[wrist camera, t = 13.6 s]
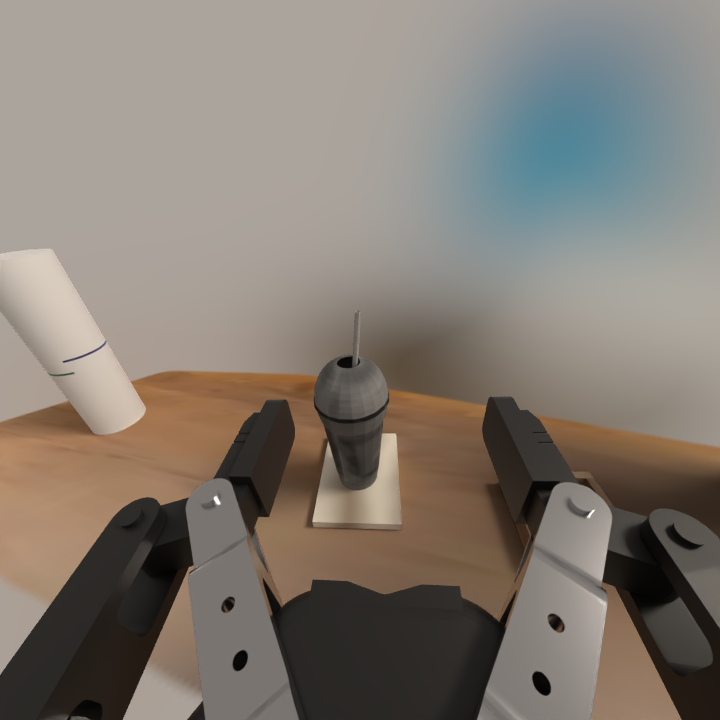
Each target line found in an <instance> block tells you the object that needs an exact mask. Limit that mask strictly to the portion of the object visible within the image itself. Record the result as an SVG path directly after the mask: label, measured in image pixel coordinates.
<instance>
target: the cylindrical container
mask: <svg viewBox="0 0 720 720" xmlns="http://www.w3.org/2000/svg"><path fill="white" fill-rule="evenodd" d="M0 311H1V313H2V314H3V315H4V316H5V318H6V319H7V320H8V322H9V323H10V324H11V325H12V327H13V328H14V330H15V331H16V332H17V333H18V335H19V336H20V338H21V339H22V340H23V341H24V343H25V344H26V345H27V347H28V348H29V349H30V351H31V352H32V353H33V355H34V356H35V357H36V358H37V360H38V361H39V362H40V364H41V365H42V366H43V368H44V369H45V370H46V371H47V373H48V374H49V375H50V377H51V378H52V379H53V381H54V382H55V383H56V385H57V386H58V387H59V389H60V390H61V391H62V392H63V394H64V395H65V396H66V398H67V399H68V400H69V402H70V403H71V404H72V406H73V407H74V408H75V409H76V411H77V412H78V413H79V415H80V416H81V417H82V419H83V420H84V421H85V422H86V424H87V425H88V426H89V428H90V429H91V430H92V432H93V433H94V434H97V435H108V434H113V433H116V432H119V431H122V430H124V429H126V428H128V427H130V426H131V425H133V424H134V423H136V422H137V421H138V420H140V419H141V418H142V416H143V415H144V414H145V411H146V408H145V406H144V404H143V402H142V401H141V399H140V397H139V396H138V394H137V392H136V391H135V389H134V387H133V385H132V384H131V382H130V380H129V379H128V377H127V375H126V374H125V372H124V370H123V369H122V367H121V365H120V364H119V362H118V360H117V358H116V357H115V355H114V353H113V352H112V350H111V348H110V347H109V345H108V343H107V342H106V340H105V338H104V337H103V335H102V333H101V331H100V330H99V328H98V327H97V325H96V323H95V321H94V320H93V318H92V316H91V314H90V313H89V311H88V309H87V308H86V307H85V305H84V303H83V301H82V299H81V298H80V296H79V294H78V293H77V291H76V289H75V287H74V286H73V284H72V282H71V281H70V279H69V277H68V276H67V274H66V272H65V271H64V269H63V267H62V265H61V264H60V262H59V260H58V259H57V257H56V255H55V254H54V252H53V250H52V249H33V250H23V251H15V252H8V253H1V254H0Z"/></svg>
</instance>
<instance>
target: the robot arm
mask: <svg viewBox="0 0 720 720" xmlns="http://www.w3.org/2000/svg"><path fill="white" fill-rule="evenodd" d="M482 431H483V438H484V442H485V445H486V447H487V450H488V453H489V455H490V458H491V461H492V463H493V466H494V469H495V471H496V474H497V477H498V479H499V482H500V485H501V488H502V490H503V493H504V496H505V498H506V501H507V504H508V506H509V509H510V512H511V514H512V517H513V520H514V523H515V524H527V525H528V528H529V530H530V533H531V535H530V537H529V540H528V543H527V545H526V548H525V551H524V554H523V556H522V559H521V562H520V565H519V567H518V570H517V573H516V576H515V578H514V581H513V584H512V587H511V589H510V592H509V594H508V597H507V599H506V601H505V604H504V606H503V609H502V611H501V614H500V616H499V619H498V620H497V619H495V618H494V617H493V616H492V615H491V614H489V613H488V612H487V611H485V610H484V609H482V608H481V607H479V606H478V605H476V604H474V603H472V602H470V601H468V600H466V599H463V598H462V597H461V592H460V586H441V585H419V586H415V587H412V588H408V589H405V590H401V591H397V592H394V593H390V594H380V593H377V592H375V591H372V590H369V589H367V588H364V587H361V586H359V585H356V584H353V583H351V582H348V581H331V580H313V581H312V587H311V591H308V592H305V593H303V594H301V595H298V596H296V597H295V598H293V599H292V600H290V601H288V602H287V603H286V604H285V605H283V603H282V600H281V598H280V595H279V593H278V590H277V588H276V586H275V583H274V581H273V578H272V576H271V573H270V570H269V567H268V564H267V561H266V558H265V556H264V553H263V550H262V547H261V544H260V541H259V538H258V535H257V532H256V529H255V525H256V522H257V519H258V517H269V515H270V512H271V509H272V506H273V503H274V500H275V497H276V494H277V491H278V488H279V485H280V482H281V478H282V475H283V472H284V469H285V466H286V463H287V460H288V457H289V454H290V451H291V448H292V445H293V442H294V437H295V427H294V423H293V419H292V416H291V412H290V409H289V405H288V402H287V400H267V401H266V402H265V404H264V406H263V408H262V410H261V412H260V413H253V414H252V415H251V416H250V417H249V418H248V419H247V420H246V421H245V422H244V424H243V426H242V427H241V429H240V431H239V435H237V437H236V438H235V440H234V444H232V446H231V448H230V449H229V451H228V453H227V455H226V457H225V459H224V460H223V462H222V464H221V466H220V468H219V470H218V471H217V473H216V475H215V477H214V478H213V479H212V480H209V481H207V482H205V483H203V484H202V485H200V486H199V487H198V488H197V489H196V490H195V491H194V492H193V493H192V494H191V496H190V497H189V498H186V499H182V500H179V501H175V502H172V503H168V504H165V505H160V504H159V503H158V501H157V500H156V499H154V498H148V497H147V498H141V499H138V500H135V501H133V502H131V503H130V504H128V505H126V506H125V507H124V508H122V509H121V510H120V511H119V512H118V513H117V514H116V515H115V516H114V517H113V518H112V520H111V521H110V522H109V524H108V525H107V526H106V528H105V529H104V531H103V532H102V533H101V535H100V536H99V538H98V539H97V540H96V542H95V543H94V545H93V546H92V547H91V549H90V550H89V552H88V553H87V554H86V556H85V557H84V559H83V560H82V561H81V563H80V564H79V566H78V567H77V568H76V570H75V571H74V573H73V574H72V575H71V577H70V578H69V580H68V581H67V582H66V584H65V585H64V587H63V588H62V589H61V591H60V592H59V594H58V595H57V596H56V598H55V599H54V601H53V602H52V603H51V605H50V606H49V608H48V609H47V610H46V612H45V613H44V615H43V616H42V617H41V619H40V620H39V622H38V623H37V624H36V626H35V627H34V629H33V630H32V631H31V633H30V634H29V635H28V637H27V638H26V640H25V641H24V643H23V644H22V645H21V647H20V648H19V650H18V651H17V652H16V654H15V655H14V656H13V658H12V659H11V661H10V662H9V663H8V665H7V666H6V668H5V669H4V670H3V672H2V673H1V675H0V720H123V717H124V715H125V713H126V710H127V708H128V706H129V704H130V701H131V699H132V697H133V694H134V692H135V690H136V688H137V685H138V683H139V681H140V678H141V676H142V674H143V671H144V669H145V667H146V665H147V662H148V660H149V658H150V655H151V653H152V651H153V648H154V646H155V644H156V642H157V639H158V637H159V635H160V632H161V630H162V628H163V625H164V623H165V621H166V619H167V616H168V614H169V612H170V609H171V607H172V605H173V602H174V600H175V598H176V596H177V593H178V591H179V589H180V586H181V584H182V582H183V579H184V577H185V575H186V573H187V570H188V568H189V567H190V566H193V565H194V569H193V570H192V571H191V572H190V573H189V576H188V585H189V593H190V601H191V609H192V617H193V625H194V633H195V641H196V649H197V657H198V665H199V673H200V681H201V689H202V697H203V701H202V702H201V704H200V705H199V706H198V707H197V708H196V710H195V711H194V712H193V713H192V715H191V716H190V717H189V718H188V719H187V720H591V715H592V708H593V701H594V694H595V687H596V680H597V673H598V666H599V659H600V652H601V645H602V638H603V631H604V624H605V617H606V610H607V601H608V597H607V592H606V590H604V589H603V588H602V582H604V583H607V584H610V585H612V586H615V587H616V589H617V591H618V593H619V595H620V597H621V599H622V601H623V603H624V605H625V607H626V609H627V611H628V613H629V615H630V617H631V619H632V621H633V623H634V625H635V627H636V629H637V631H638V633H639V635H640V637H641V639H642V641H643V643H644V645H645V647H646V649H647V651H648V653H649V655H650V657H651V659H652V661H653V663H654V665H655V667H656V669H657V671H658V673H659V675H660V677H661V679H662V681H663V683H664V685H665V687H666V689H667V691H668V693H669V695H670V697H671V699H672V701H673V703H674V705H675V707H676V709H677V711H678V713H679V715H680V717H681V719H682V720H720V539H719V538H718V537H717V536H716V535H715V534H714V533H713V532H712V531H711V530H710V529H709V528H708V527H706V526H705V525H704V524H702V523H701V522H699V521H698V520H696V519H695V518H693V517H691V516H689V515H687V514H684V513H682V512H679V511H676V510H672V509H666V508H663V509H656V510H654V511H653V512H652V513H651V514H650V515H649V516H648V517H646V516H643V515H639V514H636V513H632V512H629V511H625V510H622V509H618V508H615V507H612V506H609V505H607V504H606V503H605V501H604V500H603V499H602V498H601V497H600V496H599V495H597V494H596V493H595V492H593V491H592V490H590V489H588V488H587V487H585V486H582V485H580V484H579V482H578V481H577V479H576V478H575V476H574V475H573V473H572V471H571V470H570V468H569V466H568V465H567V463H566V462H565V460H564V458H563V457H562V455H561V454H560V452H559V450H558V449H557V447H556V446H555V444H553V441H552V439H551V438H550V436H549V434H547V431H546V430H545V428H544V426H543V425H542V423H541V422H540V420H539V419H538V418H536V417H535V416H534V415H533V414H532V413H530V412H529V411H528V410H520V409H519V408H518V406H517V404H516V402H515V401H514V399H513V398H512V397H490V398H489V399H488V403H487V407H486V412H485V417H484V421H483V427H482Z"/></svg>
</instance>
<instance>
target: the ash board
mask: <svg viewBox="0 0 720 720" xmlns="http://www.w3.org/2000/svg"><path fill="white" fill-rule="evenodd" d="M312 523H313V527H324V528H357V529H391V530H402V520H401V504H400V488H399V472H398V457H397V441H396V434H382V438H381V449H380V459H379V468H378V473H377V478H376V480H375V482H374V483H373V484H372V485H371V486H370V487H368V488H366V489H363V490H352V489H349V488H347V487H346V486H344V485H343V484H342V482H341V480H340V477H339V474H338V472H337V470H336V466H335V463H334V459H333V455H332V452H331V448H330V445H329V441H328V444H327V449H326V454H325V460H324V465H323V470H322V475H321V480H320V485H319V490H318V495H317V500H316V505H315V511H314V516H313V521H312Z"/></svg>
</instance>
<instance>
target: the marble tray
mask: <svg viewBox="0 0 720 720" xmlns="http://www.w3.org/2000/svg"><path fill="white" fill-rule="evenodd" d="M572 473H573V475H574V476H575V478H576V479H577V481H578V482H579V484H580V485H582V486H585V487H587V488H588V489H590V490H592V491H593V492H595V493H596V494H597V495H599V496H600V497H601V498H602V499H603V500H604V501H605V503H606V504H607V505H609V506H612V507H614V505H613V504H612V503H611V501H610V500H609V498H608V497H607V496H606V494H605V493H604V491H603V490H602V489H601V487H600V486H599V484H598V483H597V482H596V480H595V479H594V477H593V476H592V475H591V473H590V472H572ZM499 485H500V482H499ZM500 488H501V485H500ZM501 490H502V488H501ZM502 493H503V490H502ZM503 496H504V493H503ZM504 498H505V496H504ZM505 501H506V498H505ZM506 503H507V501H506ZM507 506H508V504H507ZM508 508H509V506H508ZM509 511H510V509H509ZM510 514H511V512H510ZM511 516H512V514H511ZM512 519H513V517H512ZM513 521H514V520H513ZM514 524H515V523H514ZM515 526H516V529H517V532H518V534H519V537H520V539H521V542H522V544H523V547H524V550H525V548H526V545H527V543H528V540H529V537H530V535H531V533H530V530H529V528H528V525H527V524H515Z"/></svg>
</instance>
